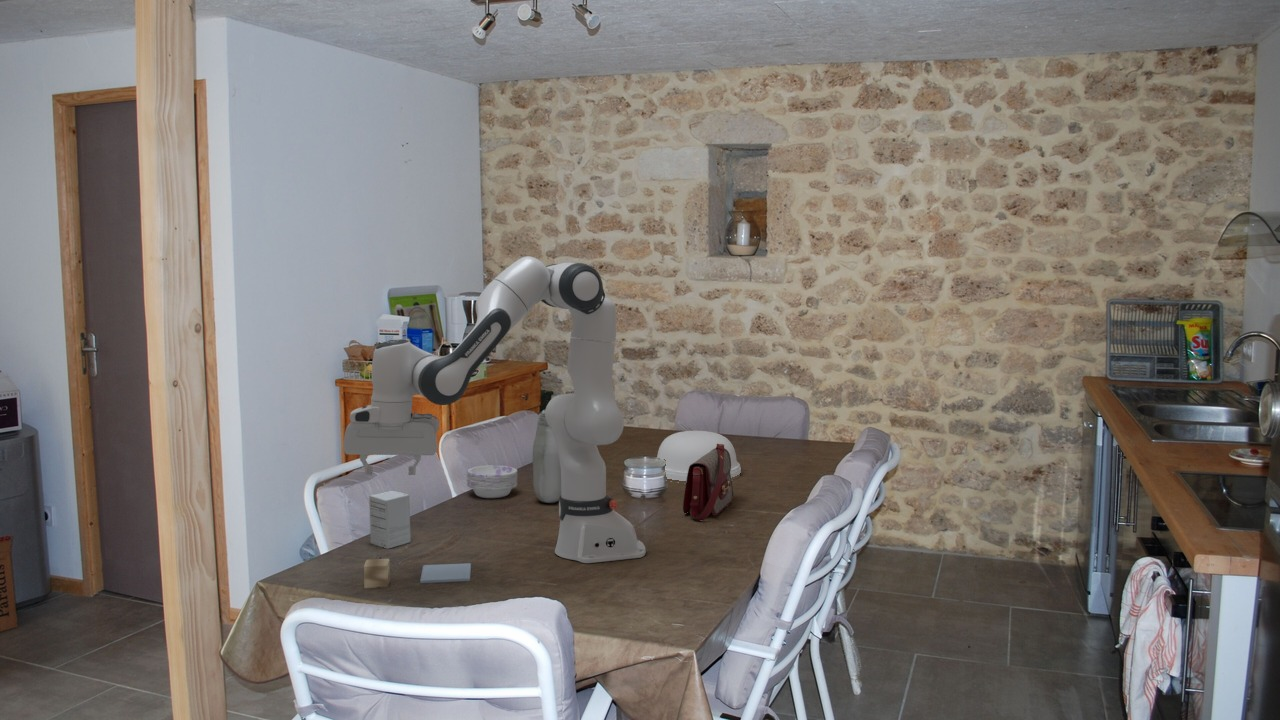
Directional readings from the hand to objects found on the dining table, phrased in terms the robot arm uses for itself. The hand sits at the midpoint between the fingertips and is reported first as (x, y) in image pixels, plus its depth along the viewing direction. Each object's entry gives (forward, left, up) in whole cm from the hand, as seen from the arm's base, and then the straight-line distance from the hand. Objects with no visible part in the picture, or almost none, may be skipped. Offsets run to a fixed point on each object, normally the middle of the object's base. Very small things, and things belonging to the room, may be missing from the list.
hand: (390, 474), depth 220 cm
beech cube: (+3, +1, -25) cm, 25 cm away
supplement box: (+3, -30, -25) cm, 39 cm away
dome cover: (-91, -98, -25) cm, 136 cm away
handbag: (-85, -51, -25) cm, 102 cm away
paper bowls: (-23, -77, -25) cm, 84 cm away
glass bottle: (-40, -66, -25) cm, 81 cm away
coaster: (-12, -3, -25) cm, 27 cm away
